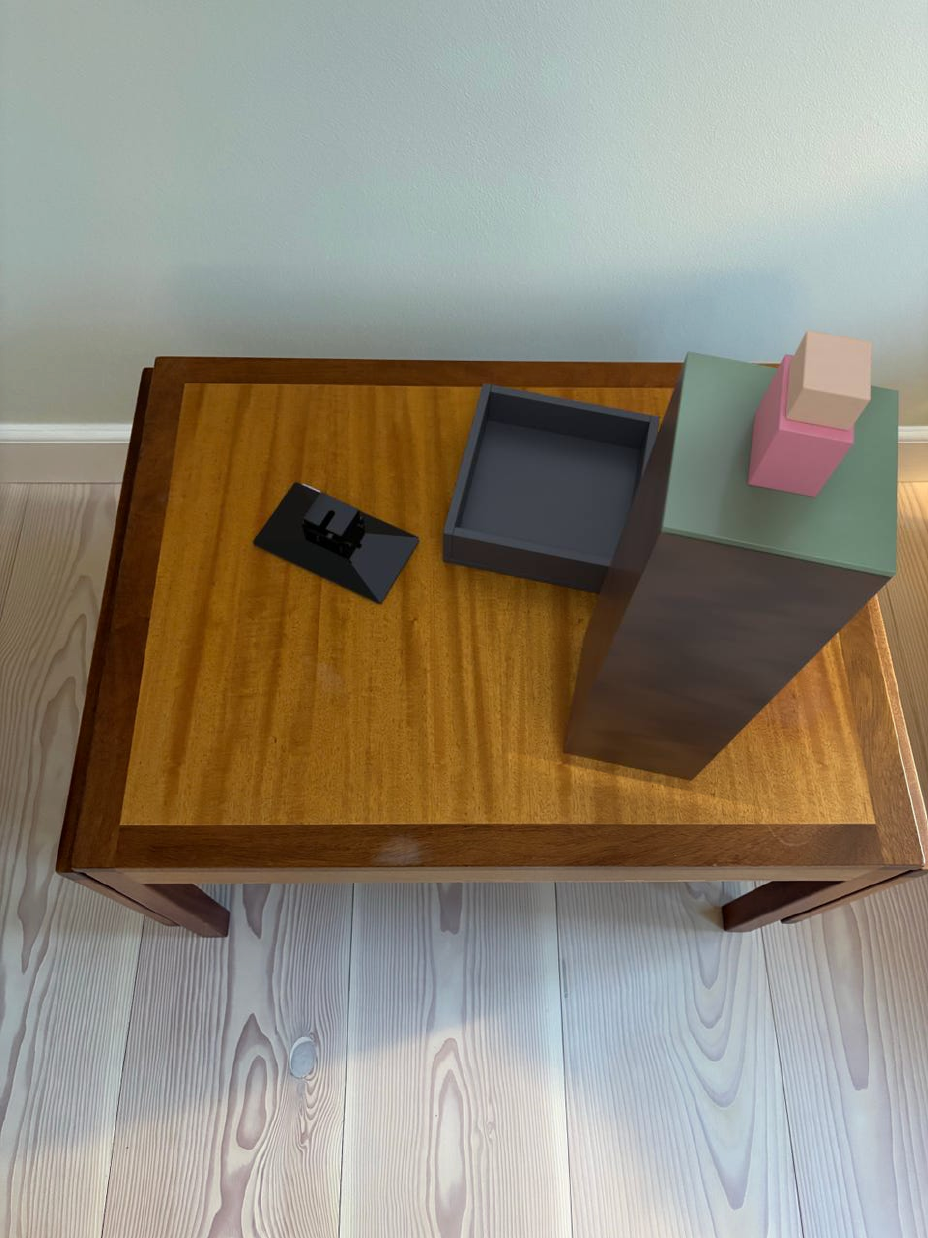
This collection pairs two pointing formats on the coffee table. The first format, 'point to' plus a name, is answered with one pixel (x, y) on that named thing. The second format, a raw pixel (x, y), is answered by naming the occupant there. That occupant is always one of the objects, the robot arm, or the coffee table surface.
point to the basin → (546, 487)
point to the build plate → (337, 542)
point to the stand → (726, 576)
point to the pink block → (810, 413)
